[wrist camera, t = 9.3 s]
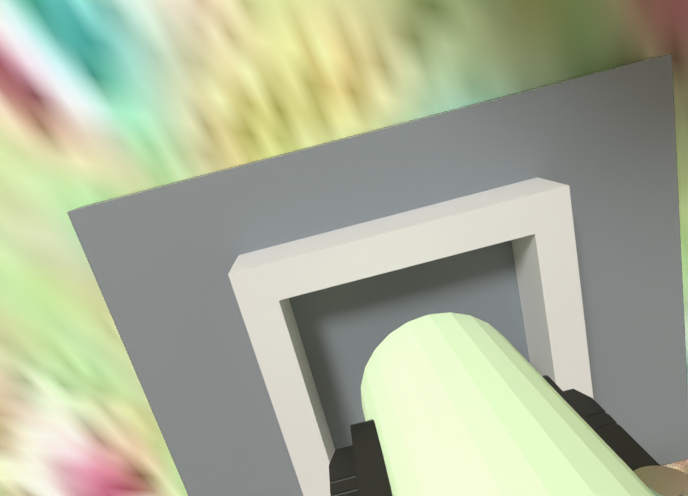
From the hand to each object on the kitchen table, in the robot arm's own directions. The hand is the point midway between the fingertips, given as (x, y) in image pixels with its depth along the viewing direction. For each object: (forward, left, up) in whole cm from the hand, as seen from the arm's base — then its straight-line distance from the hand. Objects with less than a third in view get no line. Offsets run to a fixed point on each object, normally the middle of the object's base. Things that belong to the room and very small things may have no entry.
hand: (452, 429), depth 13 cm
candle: (0, 0, -2) cm, 2 cm away
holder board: (0, 0, -6) cm, 6 cm away
